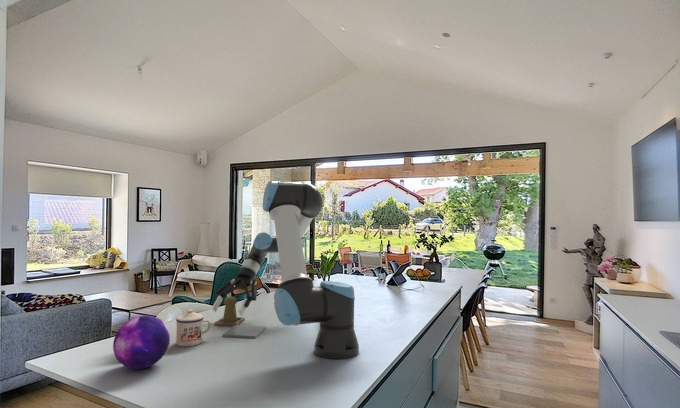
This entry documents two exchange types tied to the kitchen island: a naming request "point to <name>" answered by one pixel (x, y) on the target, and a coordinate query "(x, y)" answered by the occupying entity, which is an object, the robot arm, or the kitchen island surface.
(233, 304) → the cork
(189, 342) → the teacup with lid
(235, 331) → the slate coaster
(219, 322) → the walnut collar
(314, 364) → the kitchen island surface
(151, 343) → the decorative orb
